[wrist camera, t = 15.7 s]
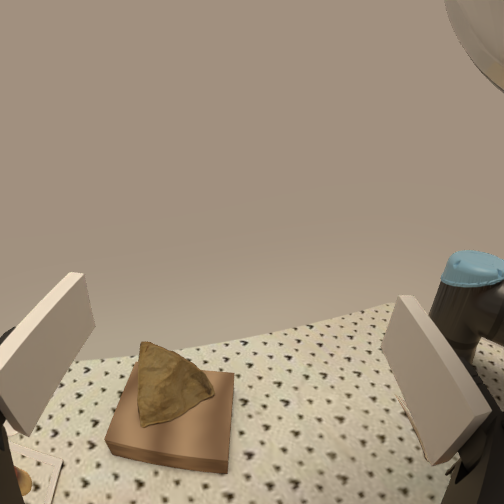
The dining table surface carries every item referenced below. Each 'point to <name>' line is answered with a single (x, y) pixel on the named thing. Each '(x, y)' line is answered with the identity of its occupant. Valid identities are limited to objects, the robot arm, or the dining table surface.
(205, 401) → the plinth
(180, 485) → the dining table surface
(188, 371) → the rock
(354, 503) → the dining table surface
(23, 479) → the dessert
